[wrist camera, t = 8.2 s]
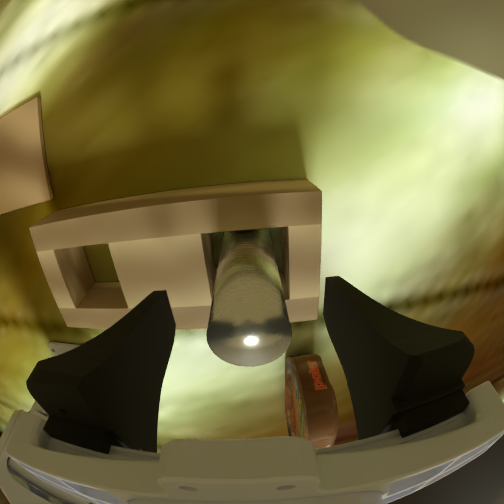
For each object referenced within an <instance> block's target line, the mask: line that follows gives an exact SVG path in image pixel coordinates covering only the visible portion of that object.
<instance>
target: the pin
mask: <svg viewBox="0 0 504 504" xmlns="http://www.w3.org/2000/svg"><path fill="white" fill-rule="evenodd" d="M291 339H292V331H291V326H290V321H289V316H288V312H287V307H286V303H285V298H284V294H283V289H282V285H281V280H280V276H279V271H278V267H277V263H276V258H275V254H274V250H273V245H272V241H271V237H270V233H269V229H268V228H260V229H247V230H235V231H224V234H223V240H222V245H221V251H220V257H219V262H218V268H217V274H216V279H215V285H214V291H213V297H212V303H211V309H210V316H209V322H208V328H207V342H208V345H209V347H210V349H211V350H212V351H213V353H214V354H215V355H217V356H218V357H219V358H220V359H222V360H224V361H226V362H228V363H231V364H234V365H238V366H259V365H263V364H267V363H270V362H272V361H274V360H276V359H277V358H279V357H280V356H281V355H282V354H283V353H284V352H285V351H286V350H287V349H288V347H289V345H290V343H291Z"/></svg>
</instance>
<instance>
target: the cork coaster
mask: <svg viewBox="0 0 504 504" xmlns="http://www.w3.org/2000/svg"><path fill="white" fill-rule="evenodd" d="M51 199H53V194H52V189H51V184H50V179H49V173H48V167H47V161H46V154H45V147H44V138H43V128H42V116H41V97H36V98H34V99H32V100H31V101H29V102H27V103H25V104H23V105H22V106H20V107H18V108H17V109H15V110H13V111H12V112H10V113H8V114H7V115H5V116H4V117H2V118H1V119H0V215H1V214H4V213H7V212H10V211H13V210H16V209H20V208H23V207H26V206H30V205H33V204H37V203H40V202H44V201H48V200H51Z"/></svg>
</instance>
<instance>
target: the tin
mask: <svg viewBox="0 0 504 504" xmlns="http://www.w3.org/2000/svg"><path fill="white" fill-rule="evenodd" d="M285 386H286V419H287V427H288V433H289V436H296V437H299V438H303V439H307V440H309V441H312V443H313V445H314V447H315V449H321V448H326V447H332V446H333V444H334V442H335V438H336V435H337V431H338V410H337V403H336V397H335V393H334V390H333V388H332V385H331V384H330V382H329V379H328V376H327V374H326V371H325V369H324V366H323V364H322V360H321V357H320V356H319V355H317V354H308V355H302V356H296V357H287V358H286V361H285Z"/></svg>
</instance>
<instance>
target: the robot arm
mask: <svg viewBox="0 0 504 504" xmlns="http://www.w3.org/2000/svg"><path fill="white" fill-rule="evenodd" d="M323 315H324V319H325V323H326V327H327V331H328V333H329V336H330V338H331V341H332V343H333V346H334V348H335V350H336V353H337V355H338V358H339V360H340V362H341V365H342V367H343V370H344V373H345V376H346V380H347V384H348V387H349V391H350V396H351V400H352V405H353V409H354V414H355V420H356V425H357V432H358V439H359V440H358V441H354V442H350V443H346V444H341V445H336V446H332V447H326V448H321V449H315V447H314V445H313V443H312V441H309V440H307V439H303V438H299V437H296V436H286V437H280V436H277V437H266V438H251V439H175V440H172V441H170V442H168V443H166V444H164V445H162V448H161V453H157V425H158V412H159V402H160V395H161V388H162V383H163V379H164V375H165V372H166V368H167V365H168V361H169V358H170V354H171V351H172V347H173V343H174V337H175V329H176V323H175V320H174V316H173V313H172V309H171V306H170V302H169V298H168V295H167V291H166V290H158V291H153V292H152V293H150V294H149V295H148V296H147V297H146V298H144V299H143V300H142V301H141V302H140V303H139V304H138V305H136V306H135V307H134V308H133V309H132V310H131V311H130V312H128V313H127V314H126V315H125V316H124V317H122V318H121V319H120V320H119V321H117V322H116V323H115V324H114V325H112V326H111V327H110V328H108V329H107V330H105V331H104V332H102V333H101V334H99V335H98V336H96V337H95V338H93V339H91V340H89V341H87V342H86V343H84V344H82V345H75V344H66V343H57V342H49V343H48V347H49V348H50V350H51V352H52V353H53V355H54V357H51V358H48V359H45V360H41V361H38V363H37V364H36V366H35V368H34V369H33V371H32V373H31V374H30V376H29V378H28V379H27V381H26V383H27V388H28V390H29V392H30V394H31V395H32V396H33V398H34V399H35V402H34V404H33V406H32V408H31V410H30V411H29V412H25V411H24V410H22V409H21V410H20V411H19V410H15V411H14V413H13V414H12V416H11V418H10V420H9V422H8V424H7V426H6V428H5V430H4V432H3V434H2V436H1V438H0V488H1V490H2V491H3V493H4V494H5V496H6V497H7V499H8V500H9V502H10V504H387V503H389V502H392V501H394V500H397V499H399V498H401V497H404V496H406V495H409V494H411V493H413V492H415V491H417V490H419V489H421V488H424V487H425V486H428V485H430V484H431V483H433V482H435V481H437V480H439V479H441V478H443V477H445V476H446V475H448V474H450V473H452V472H453V471H455V470H457V469H458V468H460V467H462V466H464V465H465V464H467V463H468V462H470V461H472V460H473V459H475V458H476V457H478V456H479V455H481V454H482V453H483V452H485V451H486V450H487V449H488V448H489V447H490V446H491V445H492V444H494V443H495V442H496V441H497V440H498V439H499V438H500V437H501V436H502V435H503V434H504V403H503V401H502V400H501V398H500V397H499V395H498V394H497V392H496V390H495V389H494V387H493V386H492V384H491V383H490V381H486V382H485V383H483V384H481V385H479V386H477V387H475V388H473V389H472V390H470V391H469V392H468V393H467V394H466V395H465V394H464V392H463V390H462V389H463V388H464V387H465V384H464V383H463V381H462V377H463V375H464V374H465V372H466V370H467V368H468V367H469V365H470V363H471V361H472V359H473V356H474V351H475V349H474V345H473V344H472V343H471V341H470V340H469V339H468V338H467V336H466V335H465V334H464V333H463V332H462V331H456V330H450V329H444V328H440V327H436V326H432V325H428V324H425V323H422V322H419V321H416V320H413V319H411V318H408V317H406V316H403V315H401V314H399V313H397V312H395V311H393V310H391V309H389V308H387V307H385V306H383V305H382V304H380V303H378V302H377V301H375V300H373V299H372V298H370V297H369V296H367V295H366V294H364V293H363V292H361V291H360V290H358V289H357V288H355V287H354V286H353V285H351V284H350V283H348V282H347V281H345V280H344V279H343V278H341V277H339V276H334V277H326V281H325V296H324V308H323ZM10 469H11V470H12V471H14V472H15V473H16V474H18V475H19V476H21V477H23V478H24V479H26V480H27V481H29V482H30V483H32V484H34V485H35V486H37V487H39V488H40V489H42V490H44V491H46V492H48V493H49V494H51V495H53V496H55V497H57V498H59V499H61V500H63V501H60V500H57V499H55V498H54V497H52V496H50V495H48V494H46V493H44V492H43V491H41V490H39V489H37V488H36V487H34V486H32V485H30V484H29V483H27V482H26V481H24V480H23V479H21V478H20V477H18V476H17V475H15V474H14V473H13V472H12V471H11V470H10Z"/></svg>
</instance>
